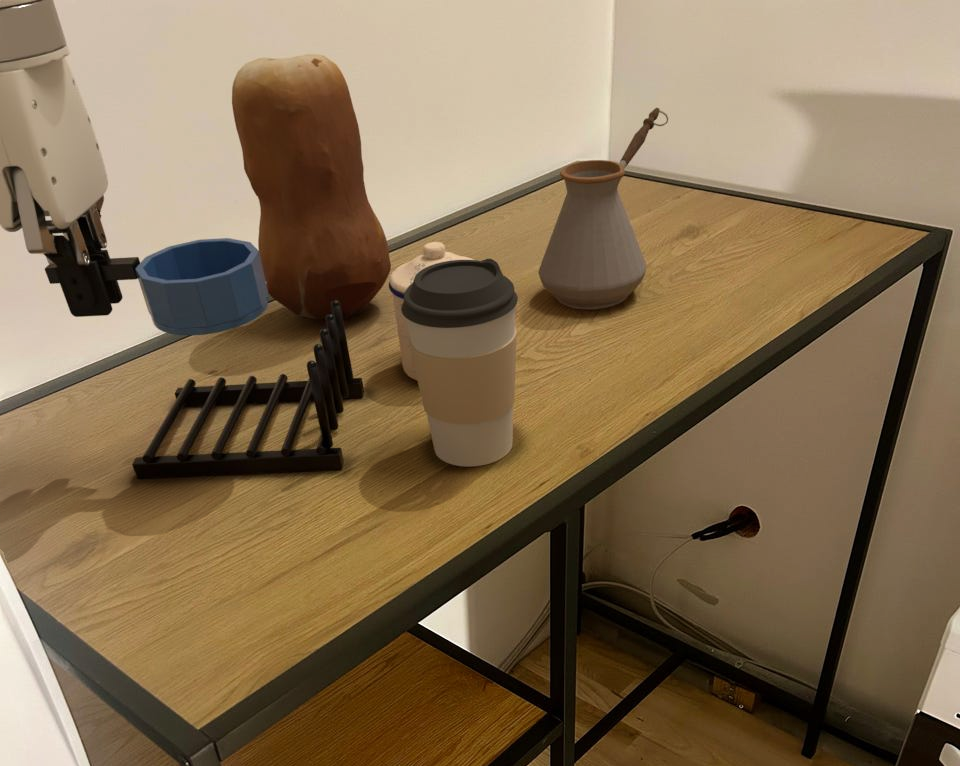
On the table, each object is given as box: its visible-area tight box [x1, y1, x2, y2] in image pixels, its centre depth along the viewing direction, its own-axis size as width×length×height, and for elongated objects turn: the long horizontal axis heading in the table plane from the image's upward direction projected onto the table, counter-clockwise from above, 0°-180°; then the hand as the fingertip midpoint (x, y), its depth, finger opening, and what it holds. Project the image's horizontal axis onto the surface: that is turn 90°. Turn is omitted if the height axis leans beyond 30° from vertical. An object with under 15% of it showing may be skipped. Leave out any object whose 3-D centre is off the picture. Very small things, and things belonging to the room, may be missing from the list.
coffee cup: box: [401, 258, 519, 468], centre depth 77 cm, size 9×9×15 cm
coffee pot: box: [538, 107, 669, 310], centre depth 102 cm, size 21×12×15 cm, turn 147°
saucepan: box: [44, 237, 269, 336], centre depth 74 cm, size 16×9×4 cm, turn 86°
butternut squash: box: [231, 53, 392, 320], centre depth 97 cm, size 14×13×25 cm
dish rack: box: [131, 300, 365, 480], centre depth 83 cm, size 18×14×9 cm
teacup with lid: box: [388, 241, 519, 382], centre depth 90 cm, size 12×9×12 cm
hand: (97, 307), depth 75 cm, fingers closed on saucepan, 1 cm apart
